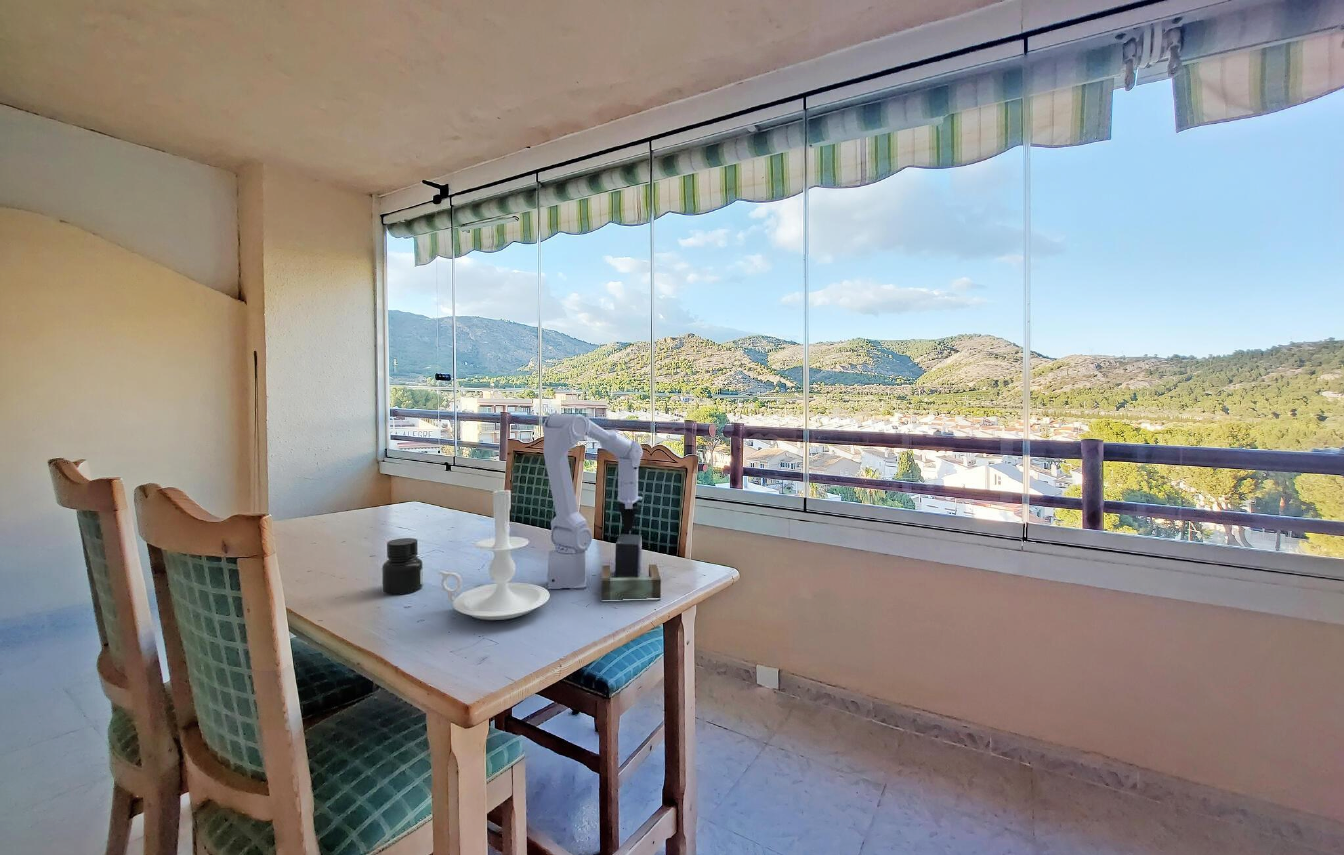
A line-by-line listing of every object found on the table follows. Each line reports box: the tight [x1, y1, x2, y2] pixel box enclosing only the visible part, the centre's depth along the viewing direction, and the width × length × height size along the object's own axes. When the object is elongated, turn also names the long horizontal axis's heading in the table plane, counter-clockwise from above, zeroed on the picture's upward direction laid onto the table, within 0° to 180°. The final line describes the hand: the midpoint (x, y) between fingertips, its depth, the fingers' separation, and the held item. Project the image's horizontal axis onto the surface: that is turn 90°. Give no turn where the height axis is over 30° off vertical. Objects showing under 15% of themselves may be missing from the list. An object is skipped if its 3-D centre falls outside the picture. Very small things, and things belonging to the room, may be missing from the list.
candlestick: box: [438, 487, 550, 621], centre depth 122 cm, size 21×25×28 cm
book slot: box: [601, 564, 662, 601], centre depth 136 cm, size 14×12×5 cm
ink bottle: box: [381, 537, 424, 595], centre depth 136 cm, size 10×9×12 cm
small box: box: [614, 533, 643, 578], centre depth 148 cm, size 11×6×10 cm, turn 179°
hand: (627, 528), depth 159 cm, fingers open, 4 cm apart
